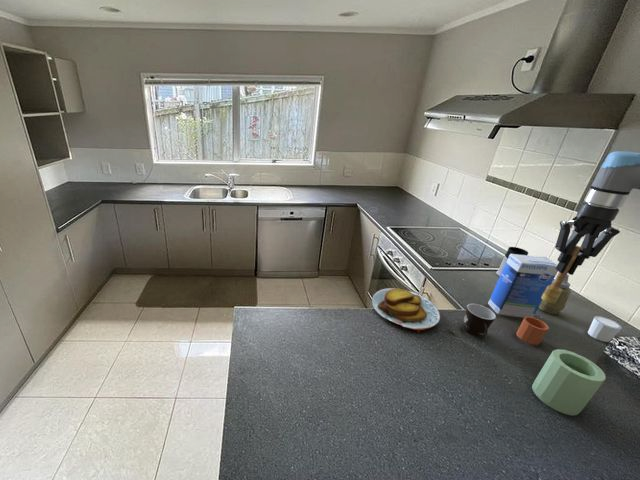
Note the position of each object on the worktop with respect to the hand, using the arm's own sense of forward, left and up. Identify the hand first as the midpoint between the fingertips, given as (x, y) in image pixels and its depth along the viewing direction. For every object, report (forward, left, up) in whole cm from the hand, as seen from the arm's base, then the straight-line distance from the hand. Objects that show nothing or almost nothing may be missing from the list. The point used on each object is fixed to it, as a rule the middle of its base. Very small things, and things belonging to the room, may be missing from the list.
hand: (563, 271), depth 92 cm
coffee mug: (+14, +14, -30) cm, 36 cm away
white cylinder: (-17, -25, -30) cm, 43 cm away
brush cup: (0, 0, -30) cm, 30 cm away
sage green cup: (-10, +24, -30) cm, 40 cm away
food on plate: (+36, +22, -30) cm, 52 cm away
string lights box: (+8, -14, -30) cm, 34 cm away
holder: (+14, -48, -30) cm, 58 cm away
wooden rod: (0, 0, -12) cm, 12 cm away
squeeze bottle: (-2, -30, -30) cm, 42 cm away
